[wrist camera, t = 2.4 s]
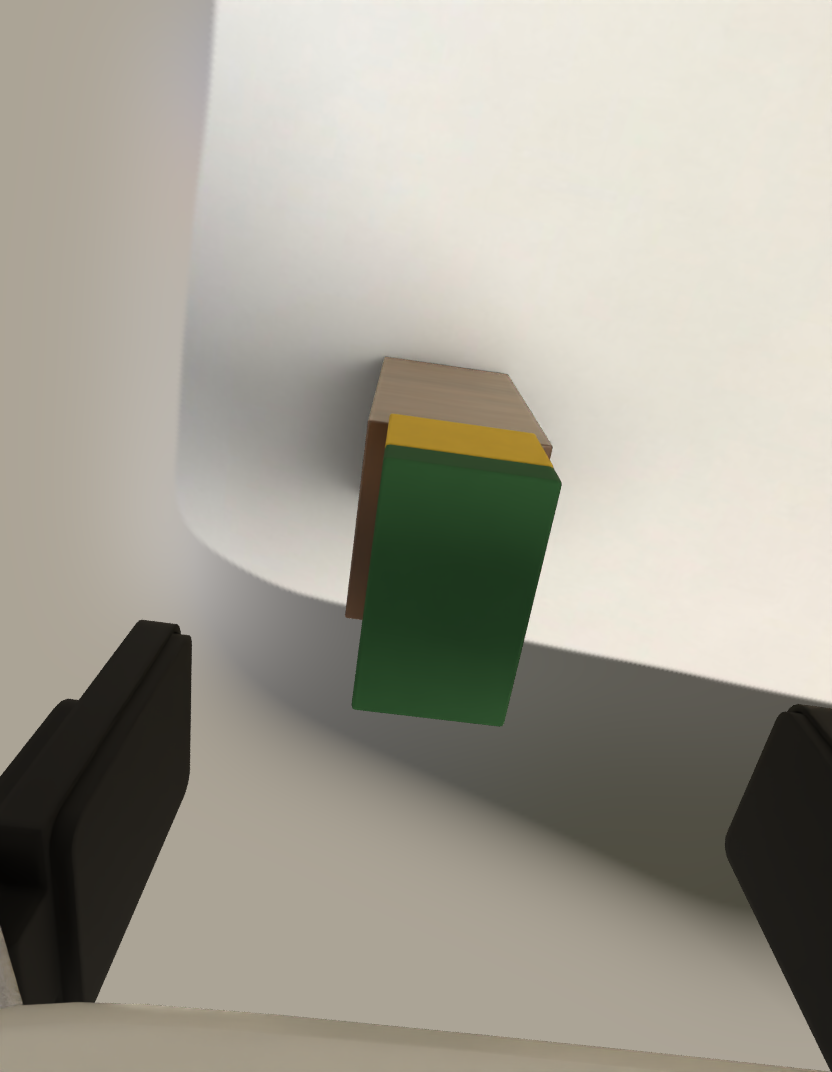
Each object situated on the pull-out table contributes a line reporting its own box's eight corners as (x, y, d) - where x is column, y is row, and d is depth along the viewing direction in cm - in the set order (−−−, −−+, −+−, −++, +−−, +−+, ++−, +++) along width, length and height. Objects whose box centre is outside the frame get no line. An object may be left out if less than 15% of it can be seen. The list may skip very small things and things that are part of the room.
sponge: (390, 412, 16) (383, 457, 13) (535, 432, 16) (563, 482, 13) (362, 628, 19) (351, 710, 16) (488, 644, 19) (503, 728, 16)
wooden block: (384, 356, 25) (367, 419, 16) (508, 374, 25) (553, 445, 17) (367, 499, 27) (344, 618, 19) (481, 514, 27) (509, 638, 19)
